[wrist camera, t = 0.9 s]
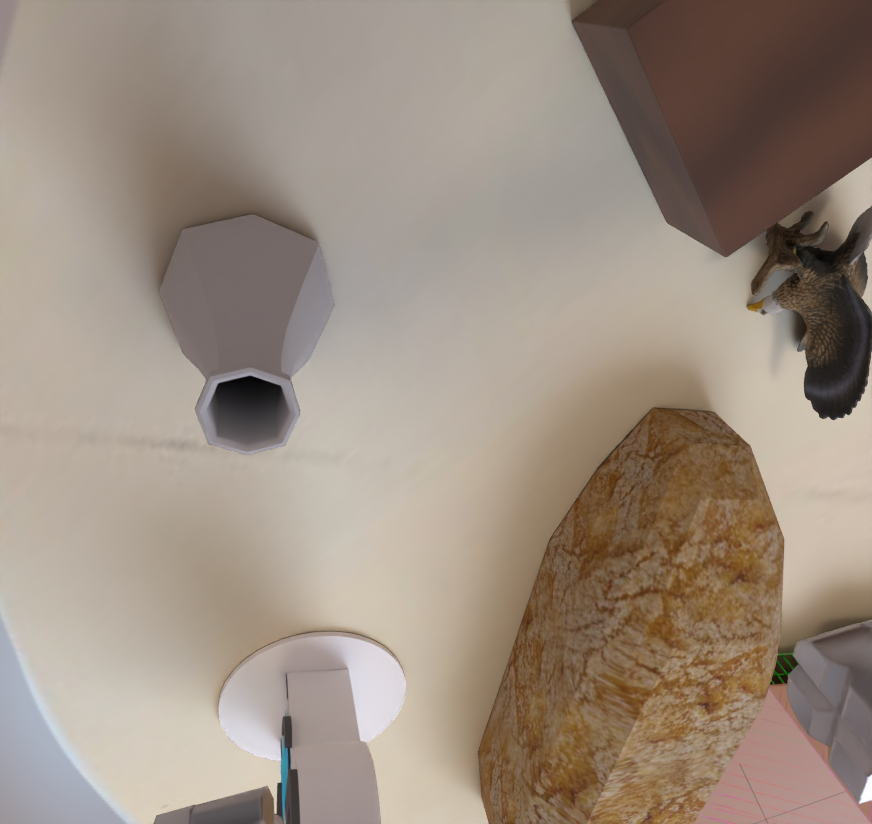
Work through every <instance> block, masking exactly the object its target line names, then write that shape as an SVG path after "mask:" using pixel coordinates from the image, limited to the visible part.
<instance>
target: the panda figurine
mask: <svg viewBox="0 0 872 824" xmlns="http://www.w3.org/2000/svg"><path fill="white" fill-rule="evenodd" d="M405 695H406V681H405V676H404V672H403V669H402V667H401V665H400V663H399V661H398V660H397V658H396V657H395V656H394V655H393V654H392V653H391V652H390V651H389V650H388V649H387V648H385V647H384V646H382V645H381V644H379V643H377V642H375V641H373V640H371V639H369V638H366V637H363V636H359V635H356V634H351V633H344V632H313V633H306V634H300V635H296V636H292V637H288V638H285V639H282V640H279V641H277V642H274V643H272V644H270V645H267V646H265V647H263V648H262V649H260V650H258V651H256V652H255V653H253V654H252V655H250V656H249V657H248V658H246V659H245V660H244V661H242V662H241V663H240V664H239V665H238V666H237V667H236V668H235V669H234V671H233V672H232V673H231V674H230V676H229V677H228V679H227V680H226V682H225V684H224V686H223V688H222V690H221V693H220V698H219V709H218V712H219V720H220V723H221V726H222V728H223V730H224V732H225V733H226V735H227V736H228V737H229V738H230V739H231V740H232V742H233V743H235V744H236V745H237V746H239V747H240V748H242V749H243V750H245V751H247V752H249V753H251V754H253V755H256V756H258V757H262V758H265V759H269V760H275V761H281V783H278V786H277V815H279V816H281V817H282V820H283V822H284V824H381V816H380V806H379V796H378V788H377V781H376V774H375V768H374V763H373V760H372V756H371V754H370V751H369V748H368V746H367V745H366V743H367V742H369V741H371V740H372V739H374V738H375V737H376V736H378V735H379V734H380V733H381V732H383V731H384V730H385V729H386V728H387V727H388V726H389V725H390V724H391V722H392V721H393V720H394V719H395V717H396V716H397V714H398V713H399V711H400V709H401V707H402V705H403V702H404V699H405Z"/></svg>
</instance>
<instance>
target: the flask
mask: <svg viewBox="0 0 872 824" xmlns="http://www.w3.org/2000/svg"><path fill="white" fill-rule="evenodd" d="M159 293H160V295H161V298H162V301H163V303H164V306H165V308H166V311H167V314H168V316H169V319H170V321H171V324H172V327H173V329H174V332H175V334H176V337H177V340H178V342H179V345H180V347H181V350H182V353H183V354H184V355H185V356H186V358H188V359H189V360H190V361H191V362H192V363H193V364H194V365H195V366H196V367H197V368H198V369H199V371H200V372H201V373H202V374H203V376H204V377H205V378H206V383H205V385H204V388H203V390H202V392H201V395H200V397H199V399H198V402H197V404H196V407H195V411H196V414H197V416H198V419H199V422H200V424H201V427H202V429H203V432H204V434H205V437H206V439H207V442H208V444H210V445H214V446H217V447H221V448H224V449H227V450H231V451H234V452H238V453H241V454H245V455H249V454H253V453H257V452H261V451H265V450H269V449H273V448H278V447H282V446H285V445H286V443H287V441H288V438H289V436H290V434H291V432H292V430H293V428H294V426H295V424H296V422H297V420H298V418H299V416H300V409H299V405H298V402H297V399H296V395H295V392H294V389H293V385H292V382H291V378H292V377H293V376H294V374H295V373H296V372H297V371H298V370H299V369H300V368H301V367H302V366H303V365H305V363H306V362H307V361H308V360H309V358H310V356H311V354H312V352H313V349H314V347H315V345H316V343H317V341H318V339H319V337H320V335H321V333H322V330H323V328H324V326H325V324H326V322H327V320H328V318H329V316H330V314H331V311H332V309H333V307H334V301H333V296H332V292H331V288H330V284H329V280H328V276H327V272H326V268H325V264H324V260H323V256H322V252H321V248H320V244H319V242H317V241H314V240H312V239H310V238H307V237H305V236H303V235H301V234H298V233H296V232H294V231H291V230H289V229H287V228H284V227H282V226H280V225H277V224H275V223H273V222H271V221H268V220H266V219H264V218H261V217H259V216H257V215H254V214H251V215H246V216H242V217H237V218H232V219H228V220H223V221H218V222H214V223H209V224H204V225H199V226H195V227H190V228H185V229H182V231H181V233H180V236H179V239H178V242H177V244H176V247H175V250H174V252H173V255H172V258H171V261H170V263H169V266H168V269H167V271H166V274H165V277H164V280H163V282H162V285H161V288H160V291H159Z"/></svg>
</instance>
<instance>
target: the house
mask: <svg viewBox="0 0 872 824" xmlns="http://www.w3.org/2000/svg"><path fill="white" fill-rule="evenodd" d="M784 655H791V656H792V657H793V653H786V654H777V656H782V657H783V658H784V659H785V661H786V662H787V663H788V665H789V666H790V667H791V668H792V670H793V669H794V668H793V667H792V666H791V664H790V663H789V662H788V661H787V659H786V658H785V657H784ZM793 658H794V657H793ZM794 660H795V661H796V659H795V658H794ZM776 662H777V663H778V664H779V666H780V667H781V668H782V670H783V671H784V672H785V674H777V672H776V671H775V670H774V672H775V674H773V675H777V676H778V678H779V679H780V680H781V682H782V683H783V684H775V683H774V682H773V681H772V679H771V682H772V684H773V685H770V686H769V689H768V692H767V695H766V698H765V702H764V705H763V708H762V709H761V711H760V713H759V714H758V716H757V718H756V719H755V721H754V723H753V725H752V726H751V728H750V730H749V731H748V733H747V735H746V736H745V738H744V740H743V741H742V743H741V745H740V746H739V748H738V750H737V751H736V753H735V755H734V756H733V758H732V760H731V761H730V763H729V765H728V767H727V768H726V770H725V772H724V773H723V775H722V777H721V778H720V780H719V782H718V783H717V785H716V787H715V788H714V790H713V792H712V793H711V795H710V797H709V798H708V800H707V802H706V803H705V805H704V807H703V809H702V810H701V812H700V814H699V815H698V817H697V819H696V820H695V822H694V824H872V800H871V801H868V802H864V803H860V804H859V803H858V802H857V801H856V799H855V798H854V797H853V795H852V794H851V792H850V791H849V790H848V788H847V787H846V786H845V784H844V783H843V782H842V780H841V779H840V778H839V776H838V775H837V774H836V772H835V771H834V770H833V768H832V767H831V766H830V764H829V763H828V746H826V745H824V744H823V743H821V742H819V741H817V740H815V739H813V738H812V737H810V736H808V734H807V733H806V731H805V730H804V729H803V727H802V726H801V724H800V723H799V722H798V720H797V718H796V716H795V714H794V712H793V710H792V708H791V706H790V702H789V698H788V694H787V690H786V688H787V683H784V682H783V680H782V679H781V678H780V675H787V676H788V674H790V673H787V672H786V671H785V670H784V668H783V667H782V666H781V664H780V663H779V662H778V660H777V661H776ZM796 662H797V661H796ZM797 663H798V662H797ZM798 664H799V663H798Z"/></svg>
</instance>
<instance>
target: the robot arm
mask: <svg viewBox="0 0 872 824" xmlns="http://www.w3.org/2000/svg"><path fill="white" fill-rule="evenodd" d="M793 657H794V658H795V659H796V661H797V662H798V663H799V664H798V665H797V666H796V667H795V668H794V669H793V670H792V671H791V673H790V674H789V675H788V681H787V688H786V690H787V694H788V698H789V702H790V706H791V708H792V710H793V712H794V714H795V716H796V718H797V720H798V722H799V723H800V724H801V726H802V727H803V729H804V730H805V731H806V733H807V734H808V736H810V737H812V738H813V739H815V740H817V741H819V742H821V743H823V744H824V745H826V746H828V763H829V764H830V766H831V767H832V768H833V770H834V771H835V772H836V774H837V775H838V776H839V778H840V779H841V780H842V782H843V783H844V784H845V786H846V787H847V788H848V790H849V791H850V792H851V794H852V795H853V797H854V798H855V799H856V801H857V802H858V803H859V804H860V803H864V802H868V801H871V800H872V620H869V621H865V622H862V623H858V624H857V623H855V624H852V625H849V626H845V627H842V628H839V629H835V630H832V631H828V632H825V633H822V634H818V635H815V636H811V637H808V638H805V639H801V640H800V641H799V642H798V643H797V644H795V648H794V652H793ZM154 824H284V822H283V820H282V817H281V816H279V815H277V814H274V798H273V796H272V794H271V792H270V790H269V788H268V786H265V787H262V788H258V789H254V790H251V791H247V792H243V793H239V794H236V795H232V796H228V797H225V798H221V799H217V800H213V801H210V802H206V803H202V804H199V805H192V806H189V807H185V808H181V809H178V810H174V811H171V812H167V813H164V814H160V815H157V816H156V818H155V821H154Z"/></svg>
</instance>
